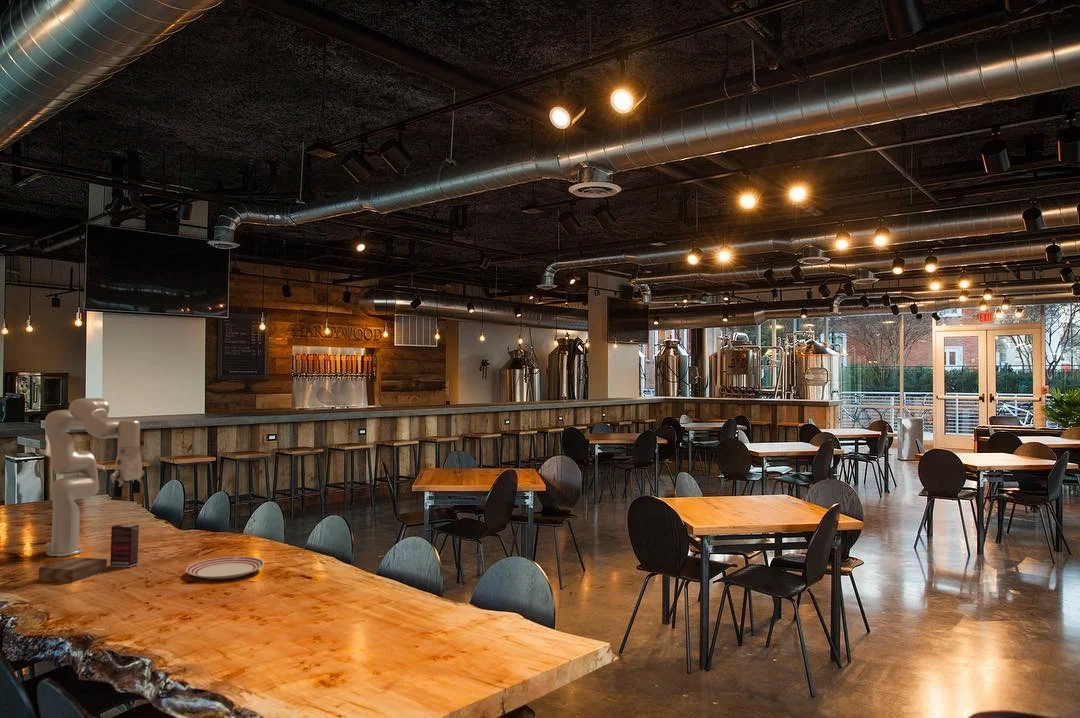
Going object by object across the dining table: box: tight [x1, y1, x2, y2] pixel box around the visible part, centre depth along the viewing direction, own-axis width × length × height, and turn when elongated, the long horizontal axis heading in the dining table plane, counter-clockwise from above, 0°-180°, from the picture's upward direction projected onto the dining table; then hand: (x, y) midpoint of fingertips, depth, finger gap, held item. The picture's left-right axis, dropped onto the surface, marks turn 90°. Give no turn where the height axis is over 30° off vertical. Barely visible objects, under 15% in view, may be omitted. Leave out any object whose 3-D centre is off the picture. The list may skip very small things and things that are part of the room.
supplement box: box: [109, 524, 140, 568], centre depth 280 cm, size 9×5×16 cm, turn 84°
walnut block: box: [38, 556, 108, 583], centre depth 265 cm, size 14×16×5 cm
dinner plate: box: [185, 555, 265, 580], centre depth 272 cm, size 27×27×3 cm
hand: (127, 494), depth 281 cm, fingers open, 9 cm apart
